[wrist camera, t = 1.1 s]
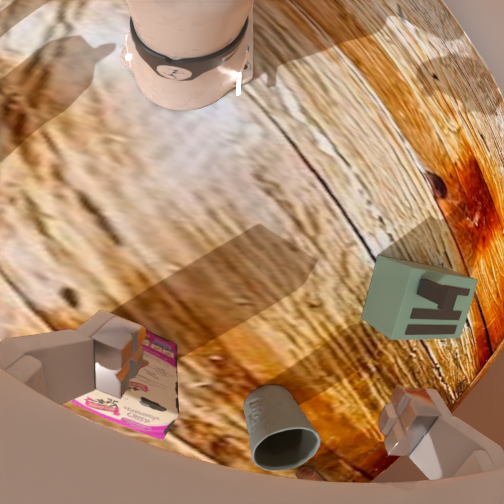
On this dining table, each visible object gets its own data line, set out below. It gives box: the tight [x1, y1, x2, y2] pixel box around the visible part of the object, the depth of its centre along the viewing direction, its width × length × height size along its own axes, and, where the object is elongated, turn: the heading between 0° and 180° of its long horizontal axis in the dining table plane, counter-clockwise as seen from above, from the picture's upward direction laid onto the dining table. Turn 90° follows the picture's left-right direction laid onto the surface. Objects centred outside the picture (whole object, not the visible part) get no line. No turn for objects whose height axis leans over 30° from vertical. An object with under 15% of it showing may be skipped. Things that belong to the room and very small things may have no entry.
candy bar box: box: [71, 312, 179, 440], centre depth 35 cm, size 11×5×16 cm, turn 59°
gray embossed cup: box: [244, 385, 320, 471], centre depth 44 cm, size 10×10×12 cm
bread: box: [296, 467, 325, 481], centre depth 55 cm, size 6×19×6 cm, turn 23°
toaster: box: [361, 255, 477, 340], centre depth 47 cm, size 11×18×9 cm, turn 79°
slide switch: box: [416, 279, 459, 311], centre depth 38 cm, size 3×2×6 cm
